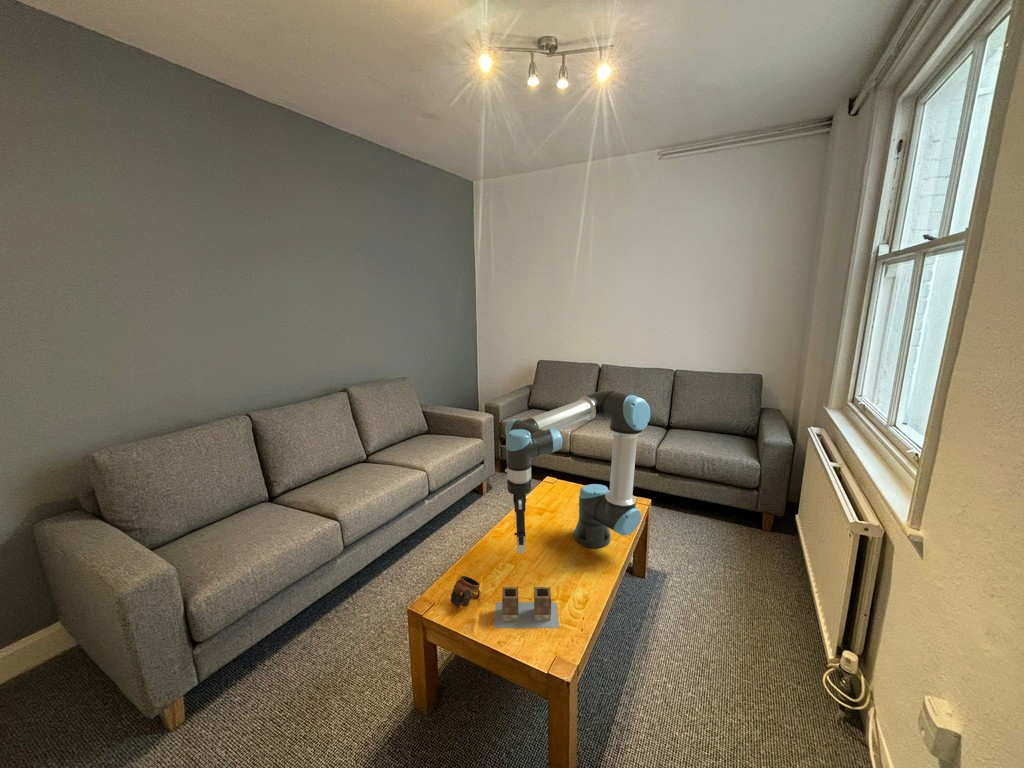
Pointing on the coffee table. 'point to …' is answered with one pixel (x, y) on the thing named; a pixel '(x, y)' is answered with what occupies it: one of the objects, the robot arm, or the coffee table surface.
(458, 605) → the pottery mug
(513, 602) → the sleeve loose
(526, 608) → the pin board
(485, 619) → the coffee table surface
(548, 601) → the sleeve seated
